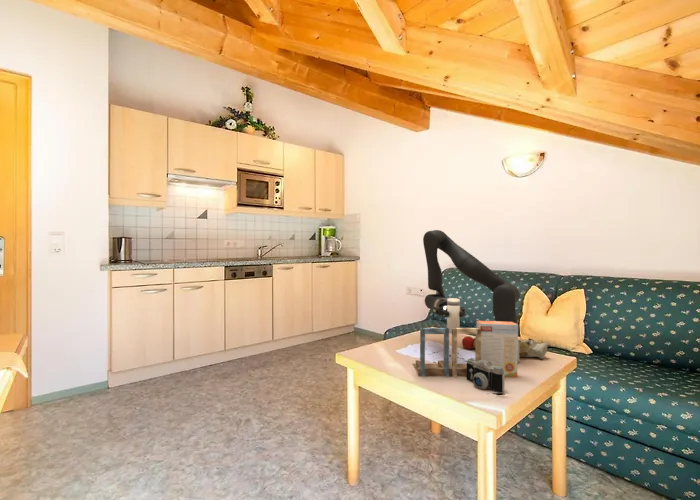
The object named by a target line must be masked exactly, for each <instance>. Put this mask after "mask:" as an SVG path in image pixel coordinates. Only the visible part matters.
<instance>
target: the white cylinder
mask: <svg viewBox="0 0 700 500" xmlns="http://www.w3.org/2000/svg"><path fill="white" fill-rule="evenodd" d="M446 299H447V311H448V312H449V317H446V328H449V335H450V334H451V335H452V328H461V327H460V325H461V324H460V318H461V317H460V308H461V299H460V298H456V297H448V298H446Z"/></svg>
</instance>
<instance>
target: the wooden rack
mask: <svg viewBox="0 0 700 500" xmlns="http://www.w3.org/2000/svg"><path fill="white" fill-rule="evenodd" d="M419 332H420V333H419V360H415V363H412V366H413V368H414V371H416V374H417V375H418V376H417V377H419V378H420V377H423V378H425V377H427V378H432V377H435V378H443V377H444V378H445V377H446V378H451V377H453V378H454V377H455V378H467V363H458V335H475V338H476V348H475V347H474V350H475V357H474V358H475V360H476V361H478V360H481V329H480V328H477V327H460V328H452V334H451V361H450V333H449V328H447V327H420V328H419ZM426 335H443V360H437V363H426V356H425V355H426Z"/></svg>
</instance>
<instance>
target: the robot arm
mask: <svg viewBox="0 0 700 500" xmlns="http://www.w3.org/2000/svg"><path fill="white" fill-rule="evenodd" d="M422 238H423V240H422V241H423V248H424V255H425V259H426V260H425V261H426V266H427V285H428V286H427V287H428V289H429V290H430V291H436V292H437V293H431V294H427V295H426V296H425V298H424V304H425V306H426V308H428V309H429V310H432V313H433V314H435V315H438V316H441V317H443V318H444V317H445V318H447V317H449V312H448V311H447V299H448V298H446V296H445V292H444V288H443V287H444V286H443V273H442V269H441V265H440V263H439V258H438V250H440V251H442V252H443V253H445V254H446V255H447V256H448V257H449V258H450V259H451V261H452V264H453V265H454V267H455V268H456V269H457V270H458V271H460V272H461V273H462V274H463V275H465V276H466V277H468V278H469V279H471V280H472V281H475V282H476V283H479V284H480V285H483V286H485V287H486V288H488V289H489V291H491V292H492V313H493V317H494V320H493V321H503V322H514V323H515V324H517V325H518V326H519V324H518V323H519V322H518V321H519V320H518V315H517V311H516V303H517V302H519V300H520V297H521V292H520V291H519V289H518V287H516V286H515V285H514V284H513V283H511V282H509V281H508V280H505V279H504V278H503V277H500V276H499V275H498V274H496V273H495V272H494V271H493V270H491V268H489V267H488V266H487V265H485V264H484V263H483V262H482V261H480V260H479V259H478V258H477V257H475V255H473V254H471V253H470V252H468V251H467V250H465V249H464V248H463V247H462V246H460V245H459V244H457V243H456V242H455V241H454V240H453V239H452V238H451V237H449V236H448V234H446V233H445V232H444V231H442V230H440V229H434V230H428V231H426V232H425V233H424V235H423V237H422ZM464 316H466V309H465V307H464V306H462V307H461V306H460V318H463V317H464ZM519 343H520V340H519V339H518V361H517V364H518V363H520V357H519Z"/></svg>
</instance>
